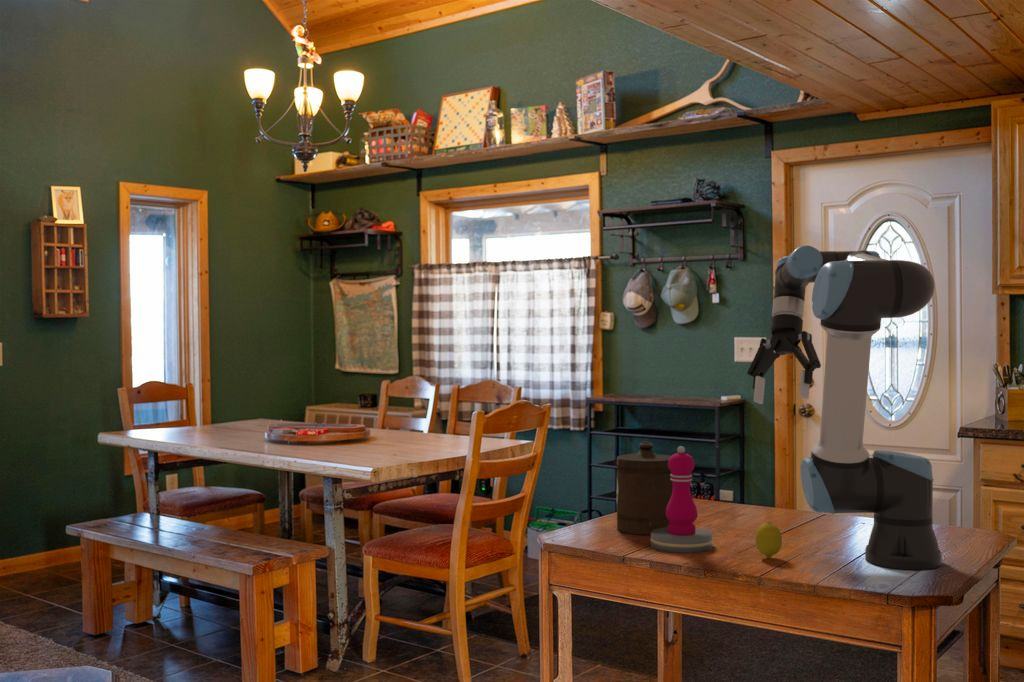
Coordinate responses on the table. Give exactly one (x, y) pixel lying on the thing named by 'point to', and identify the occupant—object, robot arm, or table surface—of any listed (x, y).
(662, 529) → the grey flat disc
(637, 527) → the wooden container
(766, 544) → the lemon
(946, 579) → the table surface
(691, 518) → the pepper mill
